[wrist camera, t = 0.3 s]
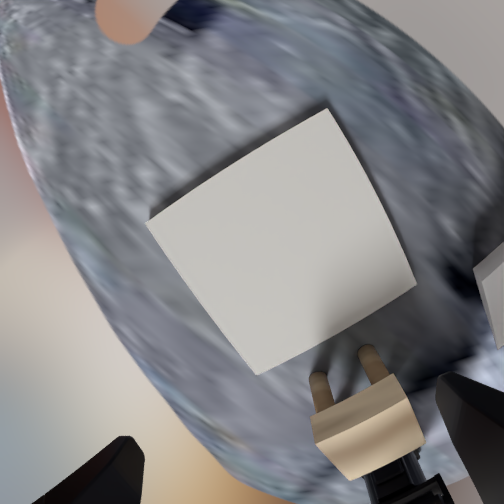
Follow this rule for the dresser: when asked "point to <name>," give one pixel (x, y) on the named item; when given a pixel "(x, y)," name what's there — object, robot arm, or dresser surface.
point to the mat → (286, 244)
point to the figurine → (493, 291)
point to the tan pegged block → (364, 420)
